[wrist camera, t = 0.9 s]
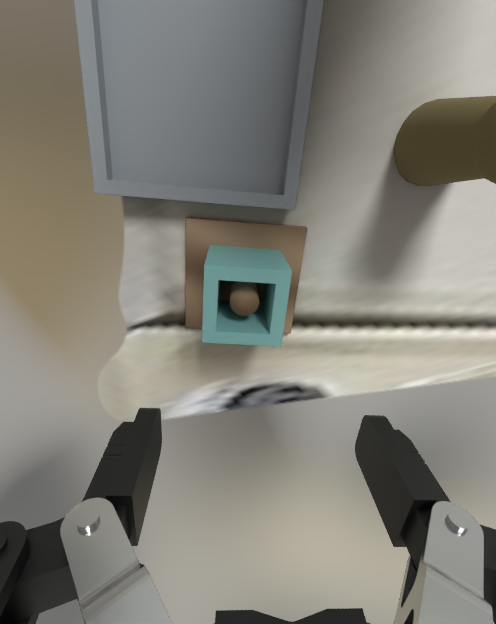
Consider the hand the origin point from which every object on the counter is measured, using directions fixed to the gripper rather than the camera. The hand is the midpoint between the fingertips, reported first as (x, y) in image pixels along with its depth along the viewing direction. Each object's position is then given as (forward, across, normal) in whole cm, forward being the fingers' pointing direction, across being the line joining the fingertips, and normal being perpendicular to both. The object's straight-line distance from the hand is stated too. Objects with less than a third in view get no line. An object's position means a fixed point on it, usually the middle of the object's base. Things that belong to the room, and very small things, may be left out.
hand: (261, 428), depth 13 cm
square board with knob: (+18, 0, 0) cm, 18 cm away
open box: (+18, 0, 0) cm, 18 cm away
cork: (+18, -14, -12) cm, 26 cm away
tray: (+18, +4, -14) cm, 23 cm away
